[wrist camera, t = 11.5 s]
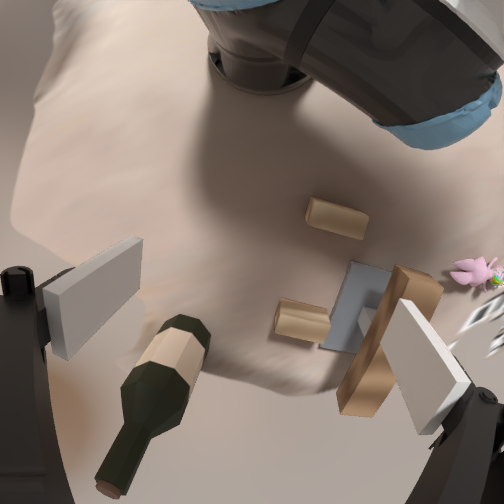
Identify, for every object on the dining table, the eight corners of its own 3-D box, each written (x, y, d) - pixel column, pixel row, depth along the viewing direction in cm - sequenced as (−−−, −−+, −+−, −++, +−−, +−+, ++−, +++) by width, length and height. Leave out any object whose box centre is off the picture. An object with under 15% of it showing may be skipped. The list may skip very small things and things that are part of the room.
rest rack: (310, 196, 38) (314, 200, 34) (359, 210, 38) (370, 217, 33) (275, 315, 44) (274, 333, 39) (319, 325, 44) (323, 343, 39)
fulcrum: (350, 260, 40) (364, 281, 33) (414, 278, 40) (436, 300, 33) (319, 342, 45) (324, 374, 37) (379, 354, 44) (392, 383, 37)
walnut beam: (395, 264, 32) (409, 278, 28) (428, 274, 32) (444, 288, 28) (336, 392, 38) (340, 414, 34) (366, 396, 38) (372, 417, 34)
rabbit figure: (501, 256, 39) (450, 244, 37) (523, 267, 33) (475, 257, 31) (490, 288, 41) (438, 283, 39) (511, 302, 35) (461, 300, 33)
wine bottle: (221, 334, 46) (161, 506, 17) (195, 364, 48) (134, 517, 19) (176, 304, 45) (74, 457, 16) (154, 337, 47) (64, 477, 19)
